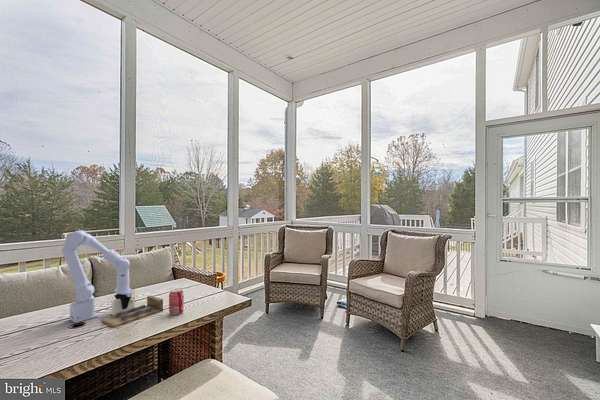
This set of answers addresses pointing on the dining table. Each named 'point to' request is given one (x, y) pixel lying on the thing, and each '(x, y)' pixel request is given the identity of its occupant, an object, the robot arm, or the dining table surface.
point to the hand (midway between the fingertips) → (123, 307)
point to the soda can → (176, 301)
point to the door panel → (120, 305)
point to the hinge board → (136, 312)
